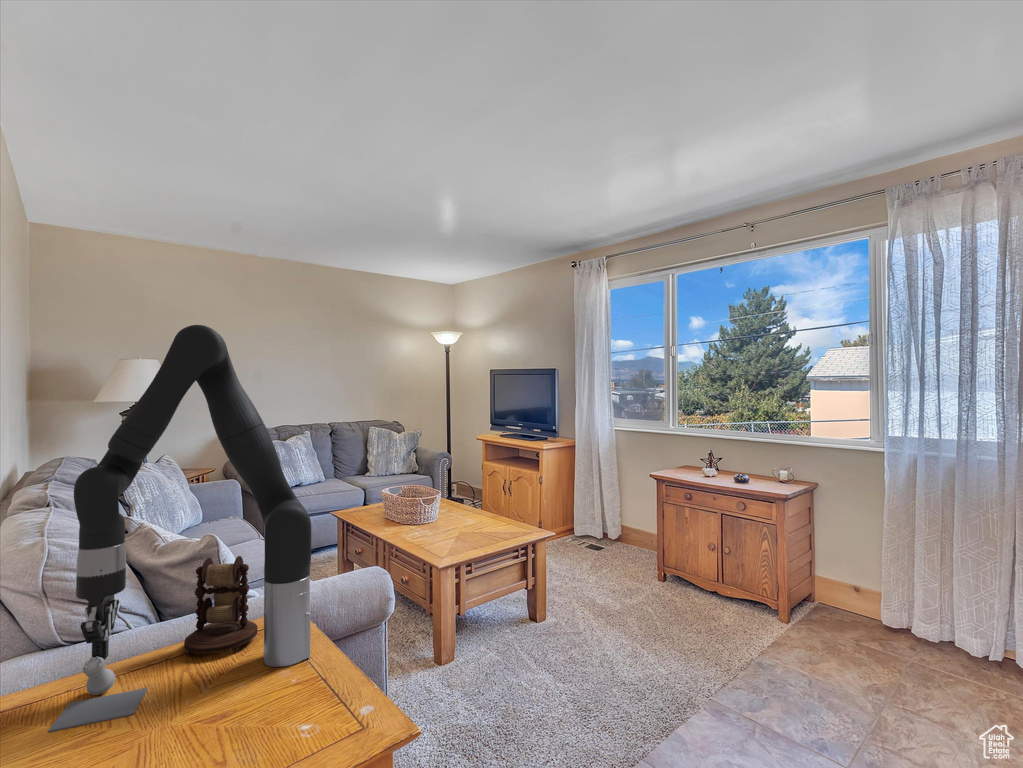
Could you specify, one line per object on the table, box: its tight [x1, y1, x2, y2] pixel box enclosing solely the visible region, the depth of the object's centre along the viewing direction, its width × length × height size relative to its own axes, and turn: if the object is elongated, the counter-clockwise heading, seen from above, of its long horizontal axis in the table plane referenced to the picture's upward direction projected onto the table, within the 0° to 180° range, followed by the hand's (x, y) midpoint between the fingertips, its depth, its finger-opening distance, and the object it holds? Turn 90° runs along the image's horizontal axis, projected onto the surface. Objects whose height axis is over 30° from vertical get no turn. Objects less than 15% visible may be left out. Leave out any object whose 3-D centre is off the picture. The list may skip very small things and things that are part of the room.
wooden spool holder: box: [183, 555, 258, 657], centre depth 119 cm, size 15×15×20 cm
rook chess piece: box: [82, 656, 116, 696], centre depth 97 cm, size 4×4×8 cm
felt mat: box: [47, 687, 148, 733], centre depth 93 cm, size 12×9×1 cm
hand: (100, 659), depth 98 cm, fingers closed
